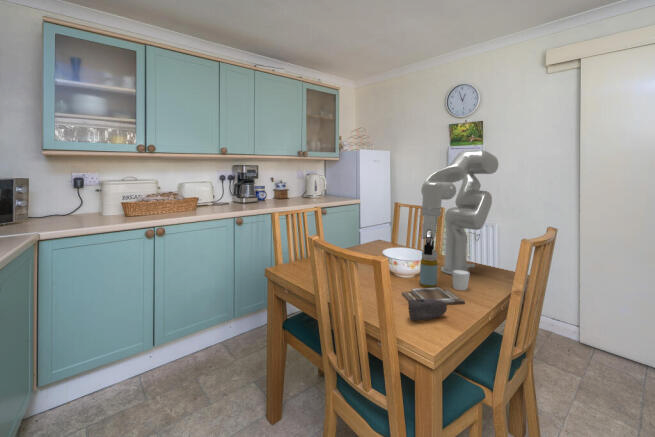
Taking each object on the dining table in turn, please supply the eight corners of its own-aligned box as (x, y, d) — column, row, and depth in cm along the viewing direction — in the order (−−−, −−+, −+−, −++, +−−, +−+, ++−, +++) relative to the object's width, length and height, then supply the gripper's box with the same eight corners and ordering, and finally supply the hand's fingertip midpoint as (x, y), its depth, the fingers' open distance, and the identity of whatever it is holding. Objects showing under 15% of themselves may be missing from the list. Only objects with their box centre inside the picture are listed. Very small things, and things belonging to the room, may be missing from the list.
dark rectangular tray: (448, 291, 129) (448, 286, 129) (464, 303, 117) (465, 298, 117) (401, 294, 126) (402, 289, 126) (414, 307, 115) (414, 302, 114)
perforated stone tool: (442, 312, 110) (443, 294, 109) (450, 319, 105) (452, 300, 104) (402, 317, 107) (403, 297, 106) (409, 324, 102) (410, 304, 101)
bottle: (424, 288, 132) (426, 254, 130) (416, 282, 139) (418, 250, 137) (439, 287, 134) (441, 253, 131) (431, 281, 140) (432, 249, 138)
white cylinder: (472, 289, 131) (473, 273, 130) (458, 291, 129) (460, 275, 128) (461, 284, 137) (462, 268, 136) (447, 285, 135) (448, 270, 134)
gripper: (423, 209, 140) (421, 246, 143) (419, 213, 124) (417, 255, 127) (441, 210, 138) (439, 248, 140) (439, 215, 122) (437, 257, 124)
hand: (428, 251), depth 133 cm, fingers open, 9 cm apart
